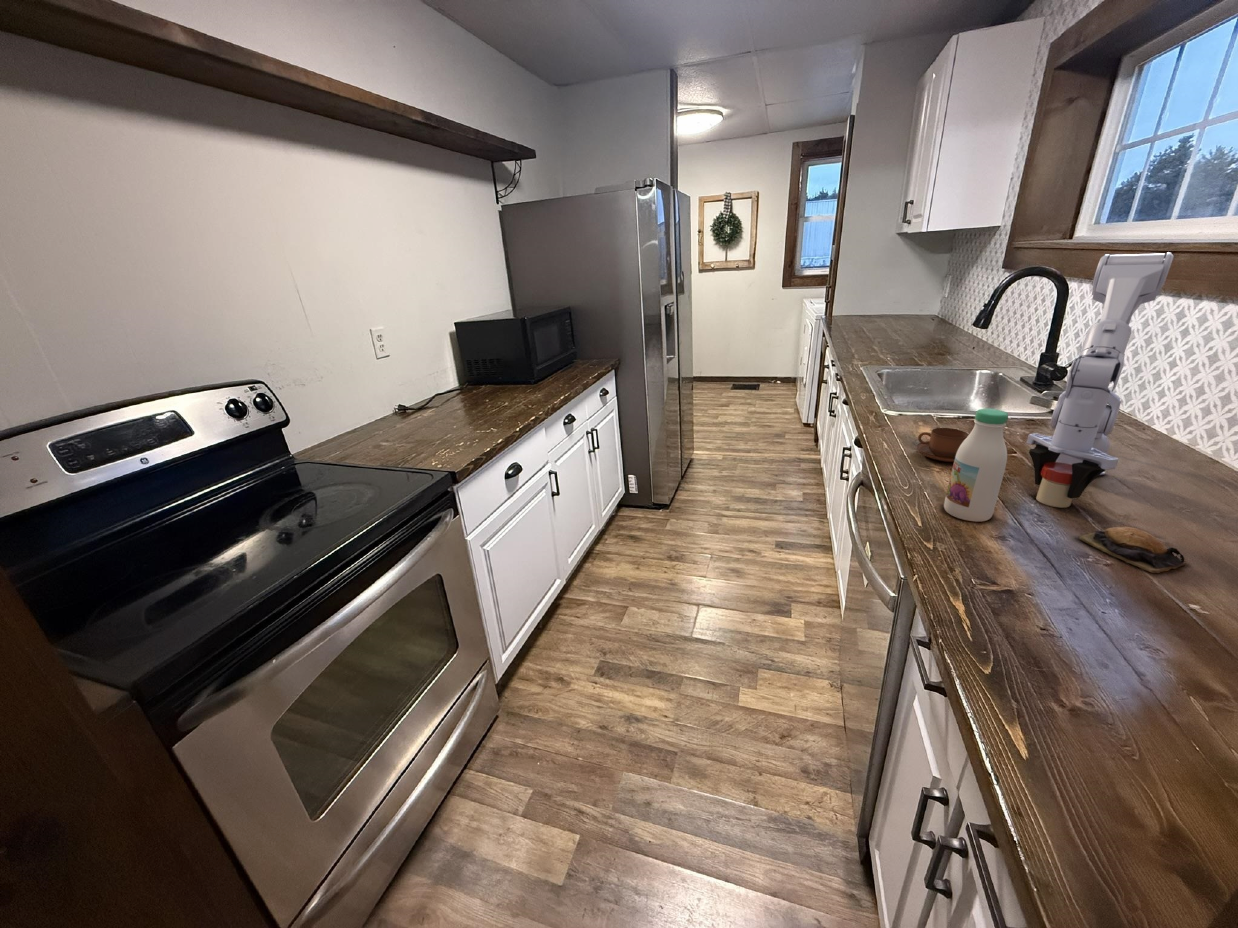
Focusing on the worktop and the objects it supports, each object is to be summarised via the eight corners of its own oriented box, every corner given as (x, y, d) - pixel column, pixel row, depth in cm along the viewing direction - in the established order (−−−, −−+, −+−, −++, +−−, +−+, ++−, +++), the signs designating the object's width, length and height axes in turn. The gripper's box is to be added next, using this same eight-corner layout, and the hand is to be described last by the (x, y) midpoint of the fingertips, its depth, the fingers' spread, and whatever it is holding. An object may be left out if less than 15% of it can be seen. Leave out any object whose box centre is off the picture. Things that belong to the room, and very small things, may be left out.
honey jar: (1048, 493, 100) (1058, 464, 97) (1077, 504, 95) (1088, 474, 93) (1029, 498, 98) (1038, 468, 96) (1057, 509, 94) (1067, 478, 91)
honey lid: (1062, 486, 92) (1065, 475, 91) (1032, 473, 97) (1035, 463, 96) (1090, 482, 92) (1094, 472, 92) (1059, 470, 98) (1062, 460, 97)
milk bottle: (984, 505, 96) (1011, 406, 89) (997, 525, 90) (1027, 419, 82) (938, 501, 99) (960, 404, 91) (948, 519, 92) (973, 416, 84)
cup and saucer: (919, 463, 116) (924, 438, 114) (912, 446, 126) (917, 423, 124) (980, 469, 112) (986, 443, 110) (968, 450, 122) (973, 426, 120)
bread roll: (1074, 540, 84) (1080, 521, 83) (1111, 532, 86) (1118, 513, 85) (1151, 575, 75) (1159, 554, 73) (1190, 564, 76) (1200, 544, 75)
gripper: (1022, 414, 96) (1004, 478, 102) (1104, 437, 83) (1079, 509, 88) (1051, 411, 98) (1032, 474, 103) (1137, 433, 85) (1110, 504, 90)
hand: (1056, 490), depth 96 cm, fingers closed on honey lid, 6 cm apart
